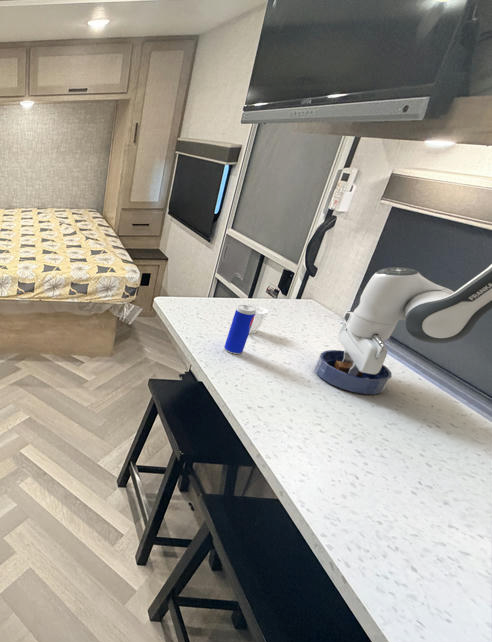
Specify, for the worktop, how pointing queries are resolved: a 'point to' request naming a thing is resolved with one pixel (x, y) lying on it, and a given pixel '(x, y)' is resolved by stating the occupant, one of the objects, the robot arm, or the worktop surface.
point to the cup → (258, 318)
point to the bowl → (347, 381)
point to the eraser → (345, 367)
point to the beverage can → (240, 329)
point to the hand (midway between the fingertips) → (348, 369)
